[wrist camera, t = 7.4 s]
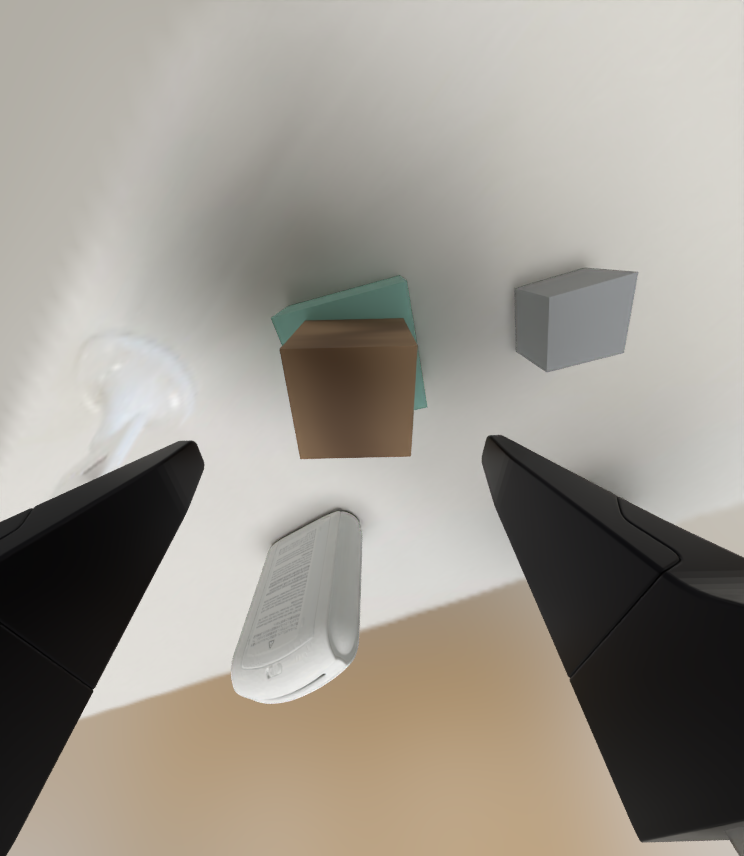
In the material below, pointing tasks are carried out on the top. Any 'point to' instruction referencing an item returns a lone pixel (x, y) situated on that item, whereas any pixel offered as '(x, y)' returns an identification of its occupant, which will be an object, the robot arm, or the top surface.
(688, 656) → the robot arm
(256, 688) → the photo printer
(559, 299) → the slate block
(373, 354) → the walnut cube
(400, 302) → the teal base block
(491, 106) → the top surface
